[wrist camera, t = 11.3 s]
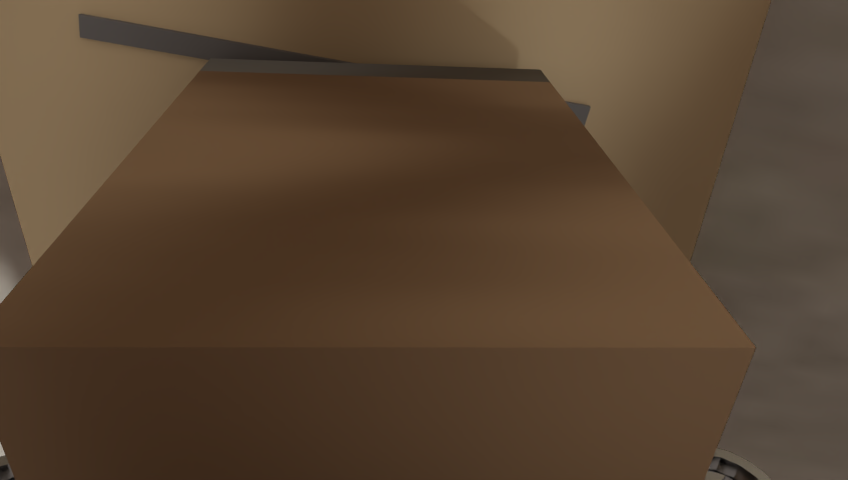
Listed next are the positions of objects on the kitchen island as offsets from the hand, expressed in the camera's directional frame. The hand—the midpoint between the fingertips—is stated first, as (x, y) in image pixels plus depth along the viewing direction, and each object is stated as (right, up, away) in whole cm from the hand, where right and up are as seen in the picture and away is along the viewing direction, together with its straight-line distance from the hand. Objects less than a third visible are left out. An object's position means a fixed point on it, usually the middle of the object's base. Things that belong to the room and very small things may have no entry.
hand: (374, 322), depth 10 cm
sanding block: (0, 0, +1) cm, 1 cm away
